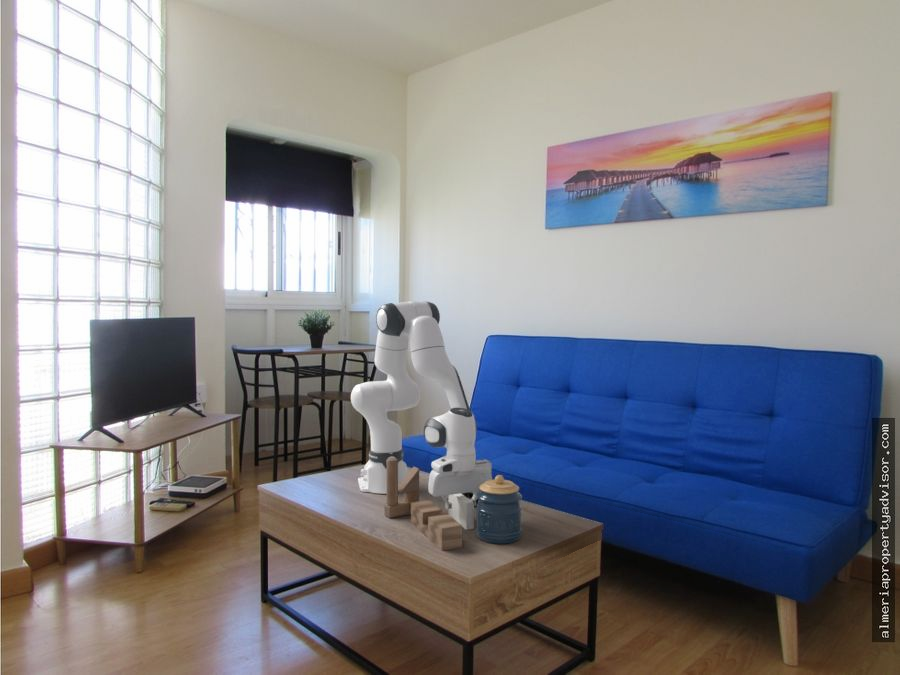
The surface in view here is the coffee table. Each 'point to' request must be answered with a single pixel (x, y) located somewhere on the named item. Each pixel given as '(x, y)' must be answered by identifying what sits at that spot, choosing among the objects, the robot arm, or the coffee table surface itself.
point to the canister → (499, 511)
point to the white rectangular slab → (462, 510)
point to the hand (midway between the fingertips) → (460, 507)
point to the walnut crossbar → (436, 525)
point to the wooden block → (400, 490)
